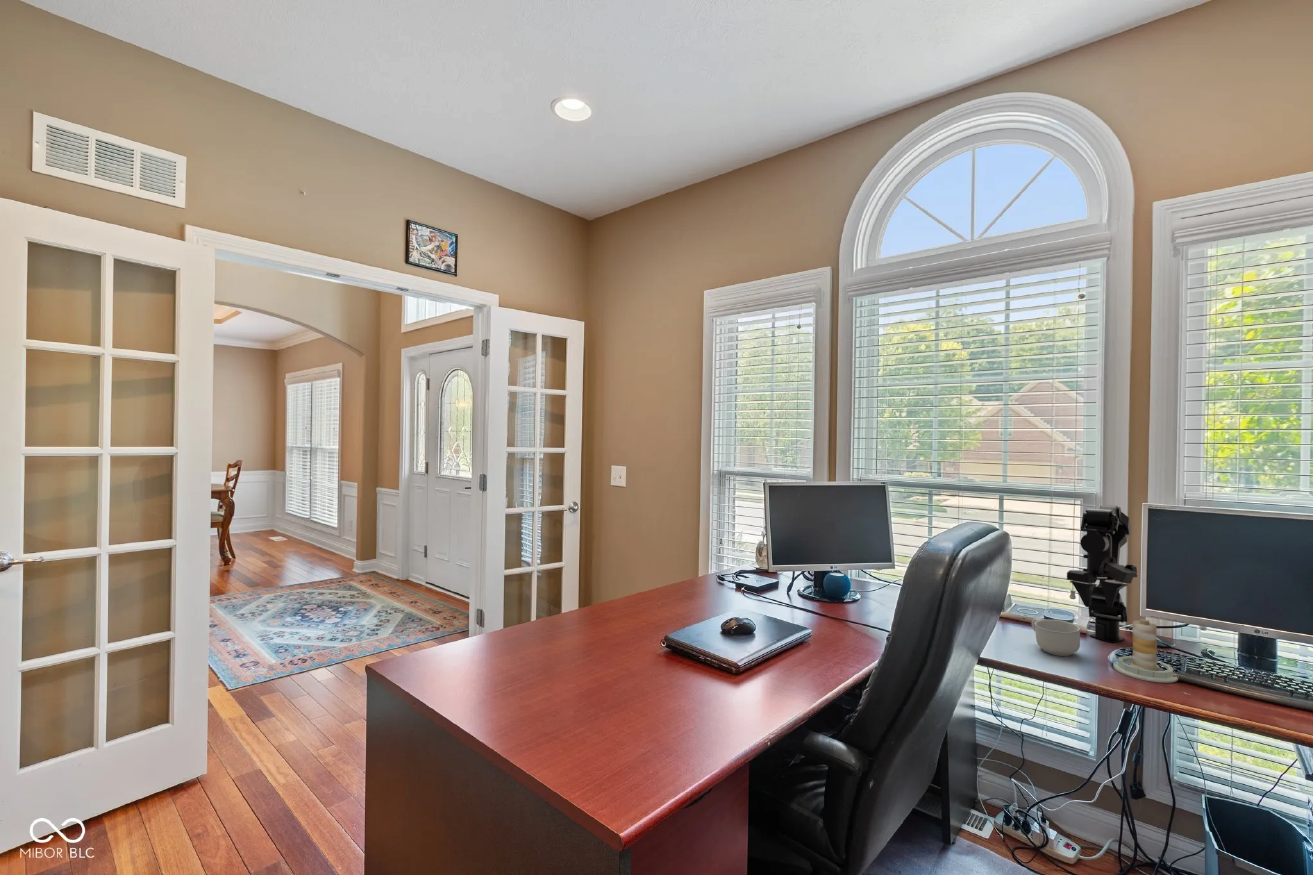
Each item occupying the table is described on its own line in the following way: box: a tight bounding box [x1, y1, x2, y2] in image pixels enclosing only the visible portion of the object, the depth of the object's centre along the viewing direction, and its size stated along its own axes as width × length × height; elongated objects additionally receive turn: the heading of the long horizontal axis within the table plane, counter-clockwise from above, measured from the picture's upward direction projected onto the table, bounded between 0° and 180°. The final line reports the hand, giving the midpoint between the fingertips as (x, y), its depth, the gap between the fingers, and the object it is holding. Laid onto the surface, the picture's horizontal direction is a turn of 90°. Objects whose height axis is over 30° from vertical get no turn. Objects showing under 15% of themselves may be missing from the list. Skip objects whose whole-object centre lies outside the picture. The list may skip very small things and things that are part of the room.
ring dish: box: [1113, 655, 1179, 684], centre depth 153 cm, size 13×13×2 cm
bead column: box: [1130, 618, 1160, 671], centre depth 153 cm, size 6×6×13 cm
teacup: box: [1031, 617, 1081, 657], centre depth 170 cm, size 14×11×8 cm
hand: (1098, 606), depth 169 cm, fingers open, 9 cm apart
